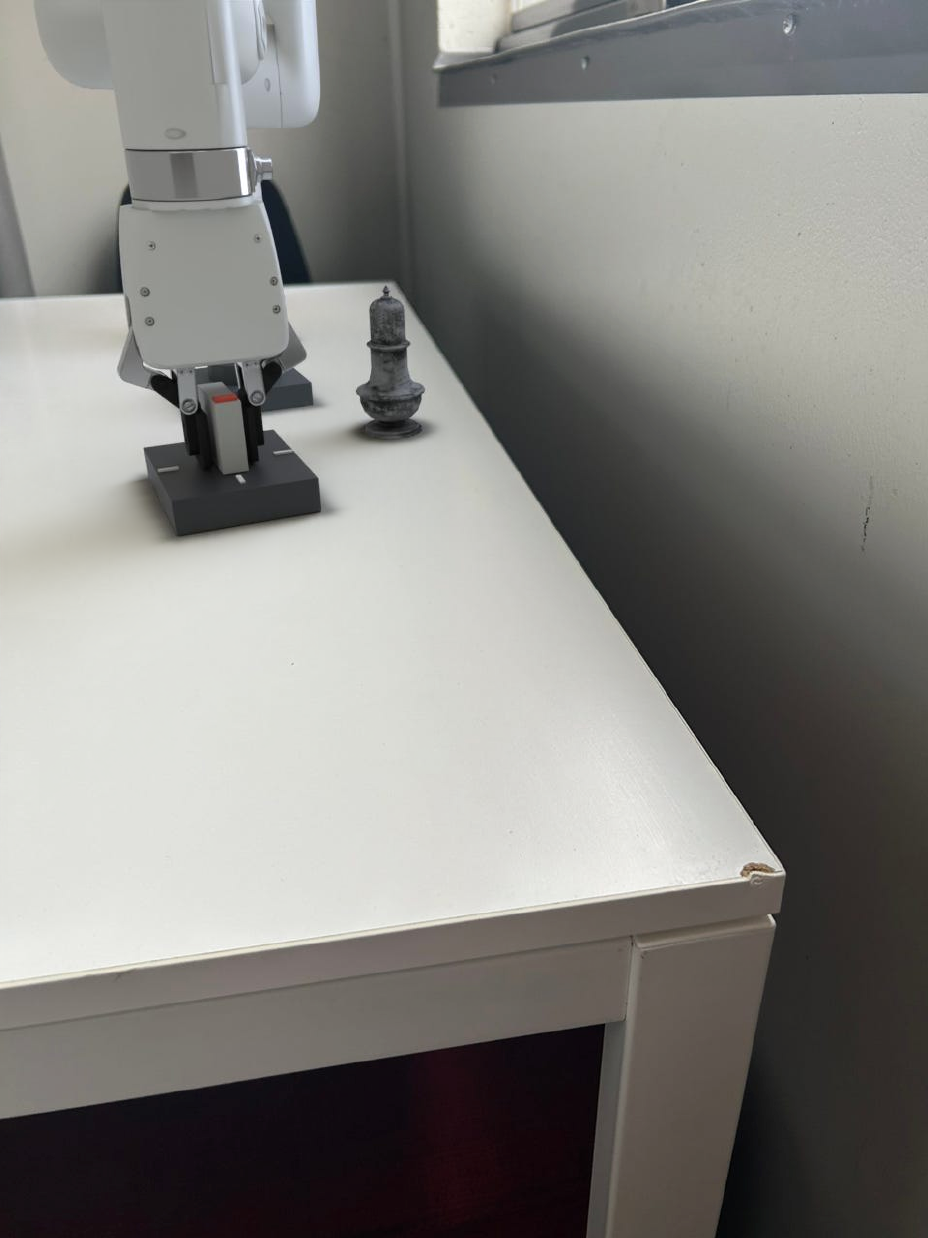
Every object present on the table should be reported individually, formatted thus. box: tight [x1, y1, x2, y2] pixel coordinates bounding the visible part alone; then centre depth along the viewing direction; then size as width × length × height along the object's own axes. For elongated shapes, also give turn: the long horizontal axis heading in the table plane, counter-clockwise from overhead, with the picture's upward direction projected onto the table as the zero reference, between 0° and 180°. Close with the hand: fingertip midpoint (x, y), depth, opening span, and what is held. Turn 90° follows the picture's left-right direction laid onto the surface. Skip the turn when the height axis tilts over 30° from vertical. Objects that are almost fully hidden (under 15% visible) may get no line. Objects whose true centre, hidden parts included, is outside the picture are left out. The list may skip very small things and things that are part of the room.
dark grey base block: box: [143, 429, 322, 537], centre depth 72 cm, size 12×10×3 cm
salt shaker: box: [355, 285, 426, 440], centre depth 82 cm, size 6×6×12 cm
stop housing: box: [195, 359, 314, 413], centre depth 93 cm, size 10×10×4 cm
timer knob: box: [197, 382, 249, 475], centre depth 70 cm, size 6×2×5 cm, turn 25°
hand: (226, 457), depth 71 cm, fingers closed
